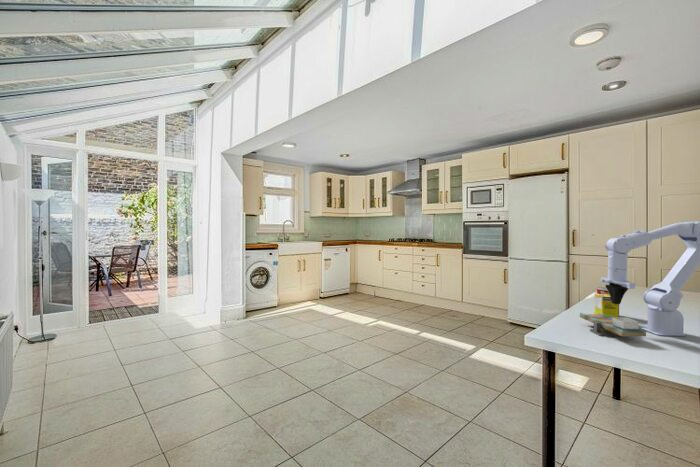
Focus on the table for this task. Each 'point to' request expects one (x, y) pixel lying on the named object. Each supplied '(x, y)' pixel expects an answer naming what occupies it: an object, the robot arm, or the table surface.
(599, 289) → the canned food
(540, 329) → the table surface
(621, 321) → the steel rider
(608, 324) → the balance beam
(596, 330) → the beam stand
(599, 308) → the supplement box
